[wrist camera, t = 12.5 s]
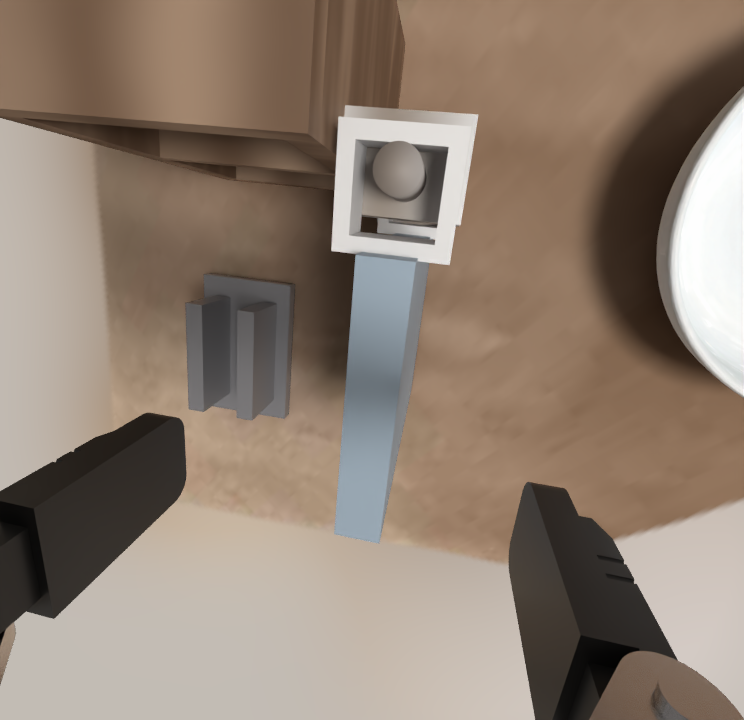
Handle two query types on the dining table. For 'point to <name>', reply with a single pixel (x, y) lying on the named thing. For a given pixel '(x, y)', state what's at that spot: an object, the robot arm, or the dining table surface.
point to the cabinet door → (384, 310)
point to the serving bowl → (708, 248)
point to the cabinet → (227, 89)
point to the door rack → (240, 346)
